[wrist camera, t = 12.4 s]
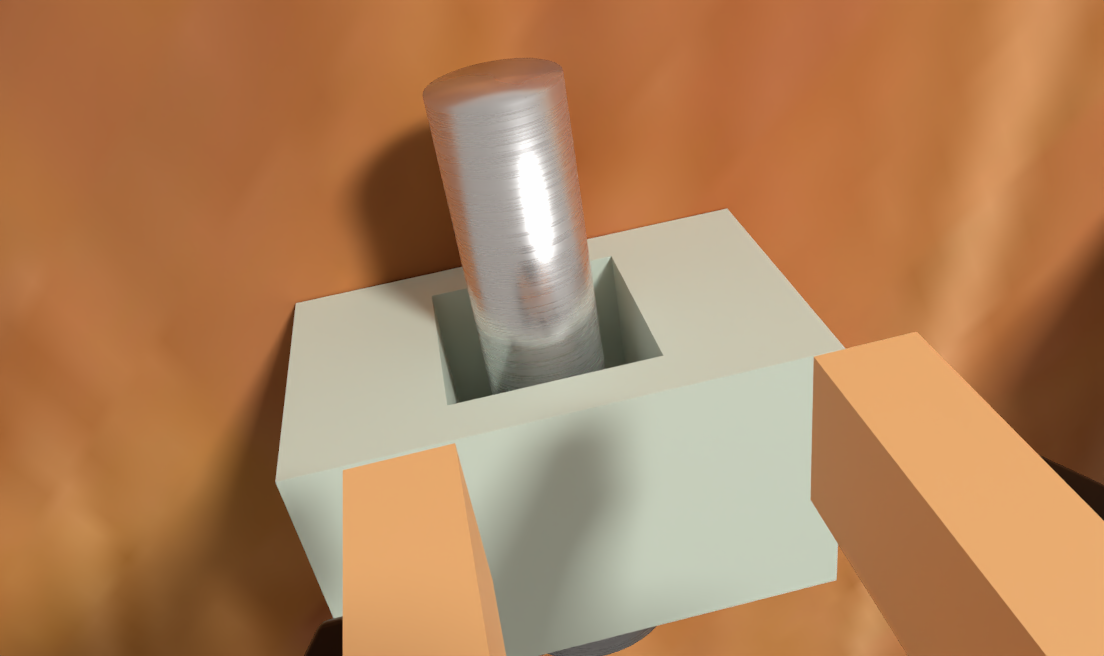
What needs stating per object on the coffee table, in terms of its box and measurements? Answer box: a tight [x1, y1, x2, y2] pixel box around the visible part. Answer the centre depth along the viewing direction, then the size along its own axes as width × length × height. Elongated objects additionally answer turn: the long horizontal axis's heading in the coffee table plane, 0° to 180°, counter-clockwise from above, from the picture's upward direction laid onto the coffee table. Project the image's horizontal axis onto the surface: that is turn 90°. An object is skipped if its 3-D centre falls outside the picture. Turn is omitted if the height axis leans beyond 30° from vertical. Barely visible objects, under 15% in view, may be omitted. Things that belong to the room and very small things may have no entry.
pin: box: [423, 58, 656, 656], centre depth 19 cm, size 12×4×4 cm, turn 9°
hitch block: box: [275, 209, 845, 656], centre depth 19 cm, size 6×10×6 cm, turn 99°
